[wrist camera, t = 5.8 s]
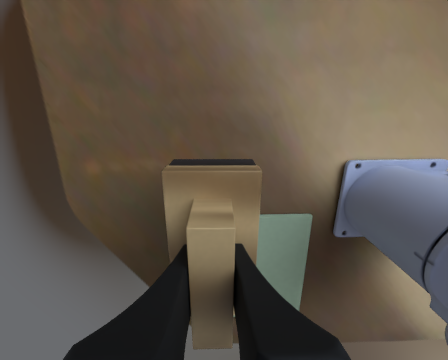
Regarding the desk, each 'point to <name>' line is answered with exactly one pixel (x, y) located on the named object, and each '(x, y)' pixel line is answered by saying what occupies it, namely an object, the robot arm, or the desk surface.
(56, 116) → the desk surface
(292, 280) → the pad
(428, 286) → the robot arm
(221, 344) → the brush
